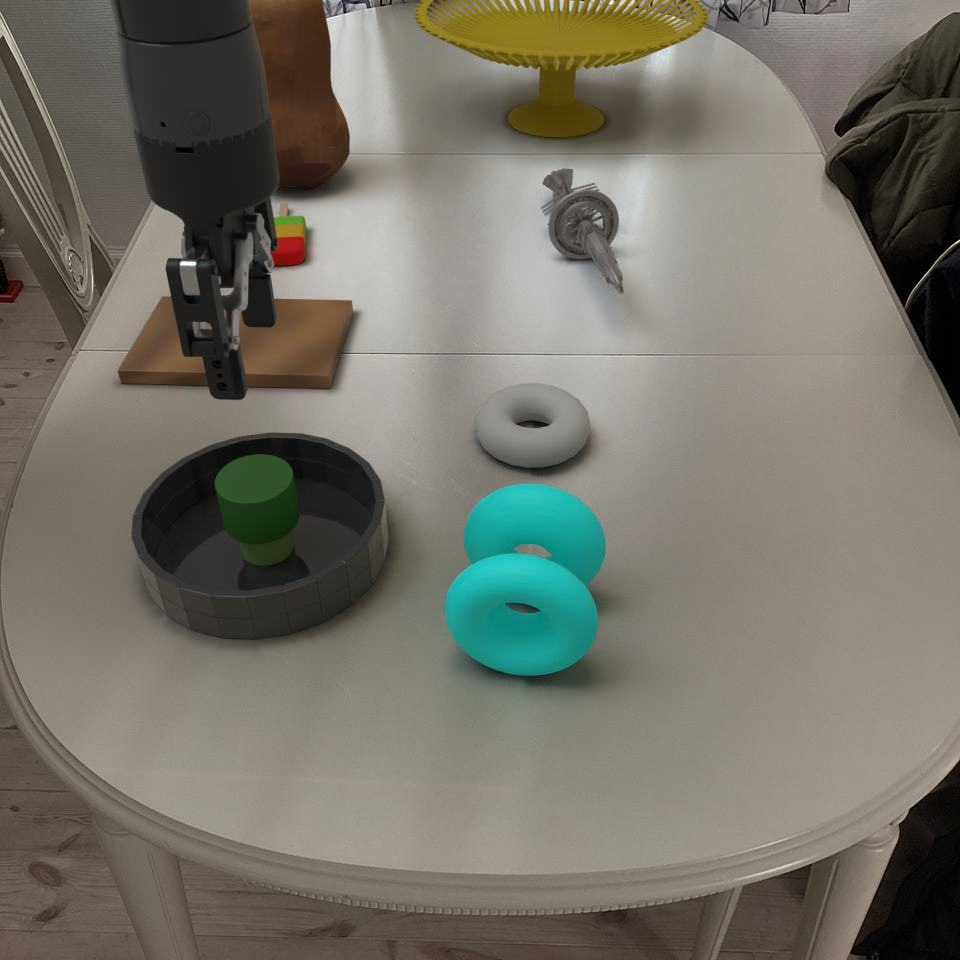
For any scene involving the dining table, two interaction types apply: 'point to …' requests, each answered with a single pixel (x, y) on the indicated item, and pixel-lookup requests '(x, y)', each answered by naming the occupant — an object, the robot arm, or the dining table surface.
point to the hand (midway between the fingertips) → (246, 359)
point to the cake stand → (560, 48)
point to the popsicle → (289, 238)
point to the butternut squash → (301, 91)
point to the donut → (532, 443)
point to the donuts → (527, 581)
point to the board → (249, 347)
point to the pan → (217, 556)
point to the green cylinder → (259, 507)
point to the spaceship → (583, 224)
